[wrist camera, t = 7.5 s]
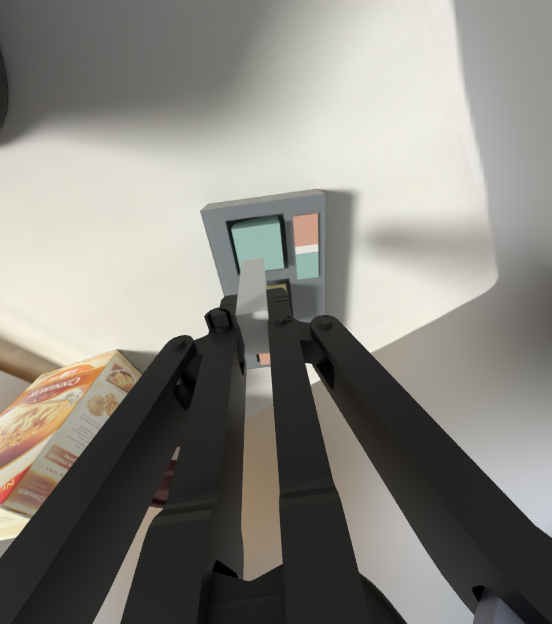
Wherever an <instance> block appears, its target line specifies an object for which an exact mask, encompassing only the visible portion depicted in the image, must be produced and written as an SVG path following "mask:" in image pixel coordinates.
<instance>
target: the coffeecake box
mask: <svg viewBox="0 0 552 624" xmlns="http://www.w3.org/2000/svg"><path fill="white" fill-rule="evenodd" d="M141 376H142V374H141V373H140V372H139V371H138V370H137V369H136V368H135V367H134V366H133V365H132V364H131V363H130V362H129V361H128V360H127V359H126V358H125V357H124V356H123V355H122V354H121V353H120V352H119V351H118V350H114V351H111V352H108V353H105V354H102V355H99V356H96V357H93V358H90V359H87V360H84V361H81V362H78V363H75V364H72V365H69V366H66V367H63V368H60V369H57V370H54V371H51V372H48V373H45V374H42V375H40V376H39V377H38V378H37V379H36V380H35V381H34V382H33V383H32V384H31V385H30V386H29V387H28V388H27V390H25V391H24V392H23V393H22V394H21V395H20V397H18V398H17V399H16V400H15V401H14V402H13V403H12V404H11V405H10V406H9V407H8V408H7V409H6V410H5V411H4V412H3V413H2V414H1V415H0V540H5V539H10V538H15V537H17V536H18V535H19V533H20V532H21V531H22V529H23V528H24V527H25V526H26V524H27V523H28V522H29V520H30V519H31V518H32V516H33V515H34V514H35V513H36V511H37V510H38V509H39V507H40V506H41V505H42V504H43V502H44V501H45V500H46V498H47V497H48V496H49V495H50V493H51V492H52V491H53V489H54V488H55V487H56V486H57V484H58V483H59V482H60V480H61V479H62V478H63V476H64V475H65V474H66V473H67V471H68V470H69V469H70V467H71V466H72V465H73V464H74V462H75V461H76V460H77V458H78V457H79V456H80V455H81V453H82V452H83V451H84V449H85V448H86V447H87V445H88V444H89V443H90V442H91V440H92V439H93V438H94V436H95V435H96V434H97V433H98V431H99V430H100V429H101V427H102V426H103V425H104V424H105V422H106V421H107V420H108V418H109V417H110V416H111V415H112V413H113V412H114V411H115V409H116V408H117V407H118V405H119V404H120V403H121V402H122V400H123V399H124V398H125V396H126V395H127V394H128V393H129V391H130V390H131V389H132V387H133V386H134V385H135V384H136V382H137V381H138V380H139V378H140V377H141Z"/></svg>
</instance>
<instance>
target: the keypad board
mask: <svg viewBox="0 0 552 624" xmlns="http://www.w3.org/2000/svg"><path fill="white" fill-rule="evenodd" d="M200 212H201V216H202V219H203V223H204V226H205V230H206V233H207V237H208V240H209V244H210V248H211V251H212V255H213V258H214V262H215V265H216V269H217V272H218V276H219V279H220V283H221V286H222V290H223V294H224V297H225V296H228V295H235V294H238V289H239V281H240V272H241V271H240V267H239V262H238V257H237V253H236V248H235V244H234V239H233V235H232V230H231V229H232V227H233V224H234V221H241V220H248V219H255V218H262V217H270V216H277V217H278V220H279V223H280V233H281V243H282V252H283V262H284V268H282V269H274V270H267V271H265V275H266V281H267V286H272V285H279V284H285V285H286V290H287V294H288V299H289V303H290V307H291V312H292V315H293V317H294V318H295V319H297V320H298V321H301V322H309V323H311V320H312V319H313V318H315V317H317V316H320V315H325V248H326V193H324V192H322V191H320V190H318V189H313V190H305V191H298V192H291V193H284V194H277V195H269V196H262V197H255V198H248V199H241V200H233V201H226V202H219V203H212V204H207V205H206V206H205V207H204V208H203V209H202V210H201V211H200ZM245 360H246V370H247V369H255V368H262V367H270V366H271V364H265V365H261V362H260V357H259V354H257V355H250V356H246V352H245Z"/></svg>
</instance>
